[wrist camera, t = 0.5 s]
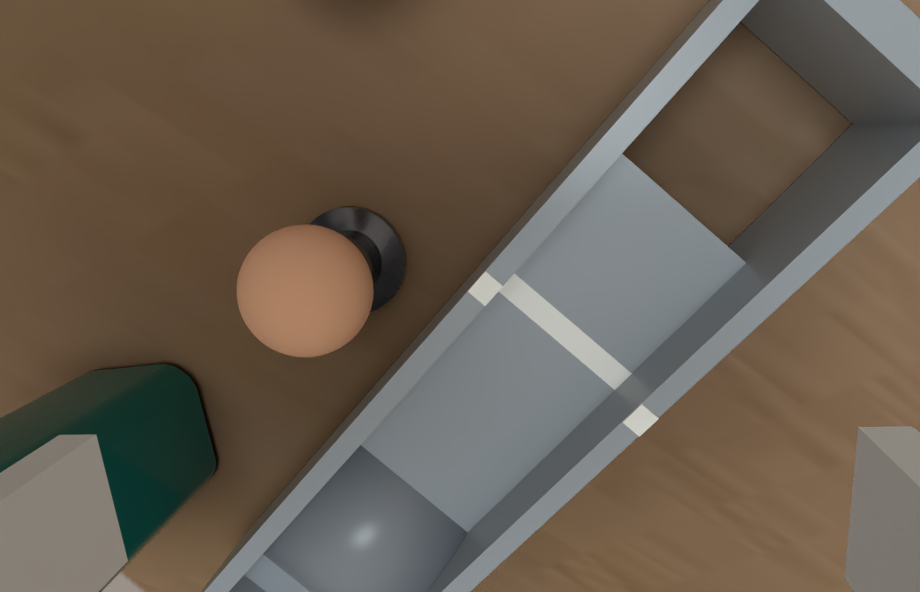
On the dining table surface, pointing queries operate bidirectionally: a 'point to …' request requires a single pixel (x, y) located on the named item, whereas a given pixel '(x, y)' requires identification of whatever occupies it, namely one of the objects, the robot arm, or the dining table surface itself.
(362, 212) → the tee
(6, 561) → the robot arm
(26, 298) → the dining table surface
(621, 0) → the dining table surface
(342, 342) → the ball
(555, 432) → the lane
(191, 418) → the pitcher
